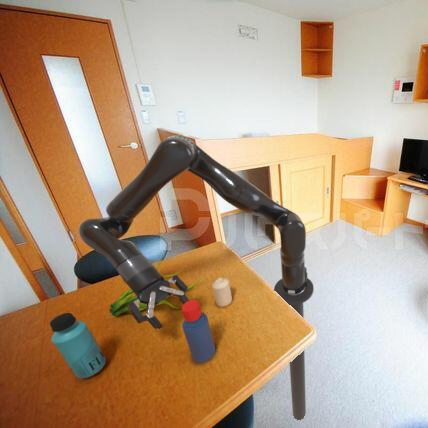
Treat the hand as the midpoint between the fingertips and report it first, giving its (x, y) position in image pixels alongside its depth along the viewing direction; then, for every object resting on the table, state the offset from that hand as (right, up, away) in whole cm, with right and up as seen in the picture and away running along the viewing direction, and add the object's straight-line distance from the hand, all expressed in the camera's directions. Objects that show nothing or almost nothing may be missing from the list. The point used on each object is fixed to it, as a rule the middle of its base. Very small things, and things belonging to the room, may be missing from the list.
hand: (175, 316), depth 69 cm
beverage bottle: (-20, -13, -4) cm, 25 cm away
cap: (+8, +3, -5) cm, 10 cm away
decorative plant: (-15, -2, +20) cm, 26 cm away
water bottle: (+8, -11, +1) cm, 14 cm away
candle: (+7, -3, +20) cm, 21 cm away
